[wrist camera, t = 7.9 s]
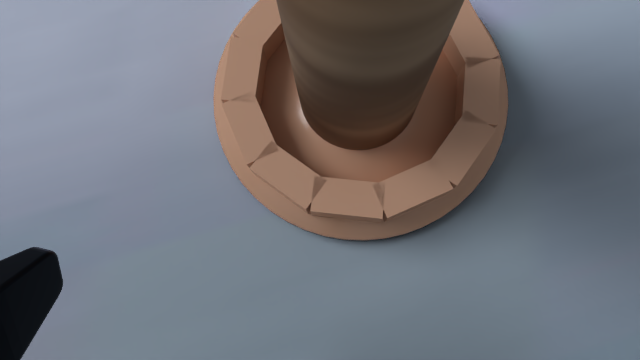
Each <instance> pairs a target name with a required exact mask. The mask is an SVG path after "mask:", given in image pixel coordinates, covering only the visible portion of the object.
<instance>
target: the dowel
mask: <svg viewBox="0 0 640 360" xmlns="http://www.w3.org/2000/svg"><path fill="white" fill-rule="evenodd" d="M276 2H277V6H278V10H279V14H280V19H281V23H282V27H283V31H284V36H285V40H286V44H287V49H288V53H289V57H290V61H291V66H292V70H293V74H294V78H295V83H296V87H297V91H298V96H299V100H300V104H301V108H302V111H303V114H304V117H305V119H306V121H307V122H308V124H309V125H310V127H311V128H312V129H313V130H314V132H315V133H316V134H317V135H319V136H320V137H321V138H322V139H324V140H325V141H327V142H328V143H330V144H332V145H335V146H337V147H340V148H344V149H349V150H368V149H373V148H377V147H380V146H382V145H385V144H387V143H389V142H390V141H392V140H393V139H395V138H396V137H397V136H398V135H400V134H401V133H402V132H403V130H404V129H405V128H406V127H407V126H408V124H409V122H410V121H411V119H412V117H413V115H414V112H415V110H416V108H417V106H418V103H419V101H420V99H421V97H422V94H423V92H424V90H425V88H426V85H427V83H428V81H429V79H430V76H431V74H432V72H433V70H434V67H435V65H436V63H437V61H438V58H439V56H440V54H441V52H442V49H443V47H444V45H445V43H446V41H447V38H448V36H449V34H450V32H451V29H452V27H453V25H454V23H455V20H456V18H457V16H458V14H459V11H460V9H461V7H462V5H463V2H464V0H276Z"/></svg>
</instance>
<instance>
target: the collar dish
mask: <svg viewBox="0 0 640 360" xmlns="http://www.w3.org/2000/svg"><path fill="white" fill-rule="evenodd" d="M507 112H508V87H507V81H506V75H505V70H504V66H503V63H502V60H501V57H500V54H499V51H498V49H497V47H496V45H495V43H494V41H493V39H492V37H491V35H490V33H489V32H488V30H487V29H486V27H485V26H484V24H483V23H482V21H481V20H480V19H479V17H478V16H477V14H476V12H475V10H474V9H473V7H472V5H471V3H470V2H469V0H464V2H463V5H462V7H461V9H460V11H459V14H458V16H457V18H456V20H455V23H454V25H453V27H452V29H451V32H450V34H449V36H448V38H447V41H446V43H445V45H444V47H443V49H442V52H441V54H440V56H439V58H438V61H437V63H436V65H435V67H434V70H433V72H432V74H431V76H430V79H429V81H428V83H427V85H426V88H425V90H424V92H423V94H422V97H421V99H420V101H419V103H418V106H417V108H416V110H415V112H414V115H413V117H412V119H411V121H410V122H409V124H408V126H407V127H406V128H405V129H404V130H403V132H402V133H401V134H400V135H398V136H397V137H396V138H395V139H393V140H392V141H390V142H389V143H387V144H385V145H382V146H380V147H377V148H373V149H368V150H349V149H344V148H340V147H337V146H335V145H332V144H330V143H328V142H327V141H325V140H324V139H322V138H321V137H320V136H319V135H317V134H316V133H315V132H314V130H313V129H312V128H311V127H310V125H309V124H308V122H307V121H306V119H305V117H304V114H303V111H302V108H301V104H300V100H299V96H298V91H297V87H296V83H295V78H294V74H293V70H292V66H291V61H290V57H289V53H288V49H287V44H286V40H285V36H284V31H283V27H282V23H281V19H280V14H279V10H278V6H277V2H276V0H259V1H258V2H257V3H256V4H255V5H254V6H253V7H252V8H251V9H250V10H249V11H248V13H247V14H246V15H245V16H244V17H243V19H242V20H241V21H240V23H239V24H238V25H237V27H236V28H235V30H234V31H233V33H232V35H231V37H230V39H229V41H228V42H227V44H226V46H225V49H224V52H223V54H222V57H221V59H220V62H219V66H218V70H217V75H216V79H215V88H214V116H215V122H216V127H217V133H218V136H219V139H220V142H221V145H222V148H223V151H224V153H225V155H226V157H227V159H228V161H229V163H230V165H231V167H232V169H233V170H234V172H235V173H236V175H237V176H238V178H239V179H240V181H241V182H242V184H243V185H244V186H245V187H246V188H247V189H248V190H249V191H250V193H251V194H252V195H253V196H254V197H255V198H256V199H257V200H258V201H259V202H261V203H262V204H263V205H264V206H265V207H266V208H268V209H269V210H270V211H271V212H273V213H274V214H276V215H277V216H279V217H280V218H282V219H284V220H285V221H287V222H288V223H291V224H293V225H295V226H297V227H299V228H301V229H303V230H306V231H309V232H312V233H315V234H318V235H321V236H325V237H331V238H336V239H342V240H359V241H366V240H377V239H386V238H390V237H395V236H399V235H403V234H406V233H409V232H412V231H414V230H417V229H420V228H422V227H424V226H426V225H428V224H430V223H432V222H434V221H436V220H437V219H439V218H441V217H443V216H444V215H445V214H447V213H448V212H450V211H451V210H452V209H454V208H455V207H456V206H458V205H459V204H460V203H461V202H462V201H463V200H464V199H465V198H466V197H467V196H468V195H469V194H471V193H472V192H473V190H474V189H475V188H476V187H477V185H478V184H479V183H480V182H481V180H482V179H483V178H484V177H485V175H486V173H487V171H488V170H489V168H490V166H491V165H492V163H493V161H494V159H495V157H496V155H497V152H498V150H499V147H500V145H501V142H502V139H503V135H504V131H505V127H506V121H507Z"/></svg>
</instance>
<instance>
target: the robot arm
mask: <svg viewBox="0 0 640 360" xmlns="http://www.w3.org/2000/svg"><path fill="white" fill-rule="evenodd" d="M62 286H63V279H62V274H61V270H60V265H59V261H58V257H57V255H56V253H55V252H53V251H51V250H47V249H43V248H39V247H32V248H29V249H26V250H24V251H21V252H19V253H17V254H15V255H12V256H10V257H8V258H5V259H3V260H1V261H0V360H20V359H21V358H22V356H23V354H24V353H25V351H26V350H27V348H28V346H29V345H30V343H31V341H32V339H33V338H34V336H35V334H36V333H37V331H38V329H39V328H40V326H41V324H42V323H43V321H44V319H45V318H46V316H47V314H48V313H49V311H50V309H51V308H52V306H53V304H54V303H55V301H56V299H57V298H58V296H59V294H60V292H61V290H62Z"/></svg>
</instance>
